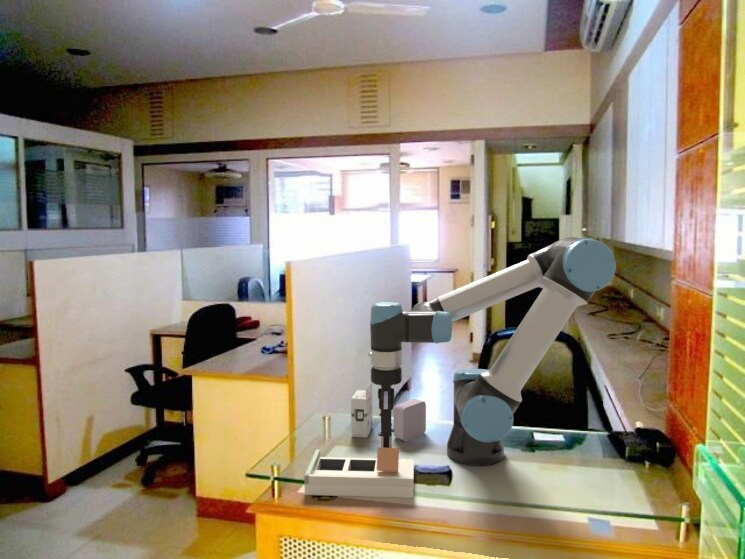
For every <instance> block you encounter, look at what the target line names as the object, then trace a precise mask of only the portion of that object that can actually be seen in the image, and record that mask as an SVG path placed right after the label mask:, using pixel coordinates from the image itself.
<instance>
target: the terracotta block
mask: <svg viewBox="0 0 745 559" xmlns="http://www.w3.org/2000/svg"><path fill="white" fill-rule="evenodd" d="M376 452H377V454H376V458H377V471H391V472H398V465H399V459H400V448H399V447H398V448H397V447H392V448H382V447H381V446H379V447H377V451H376Z"/></svg>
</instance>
